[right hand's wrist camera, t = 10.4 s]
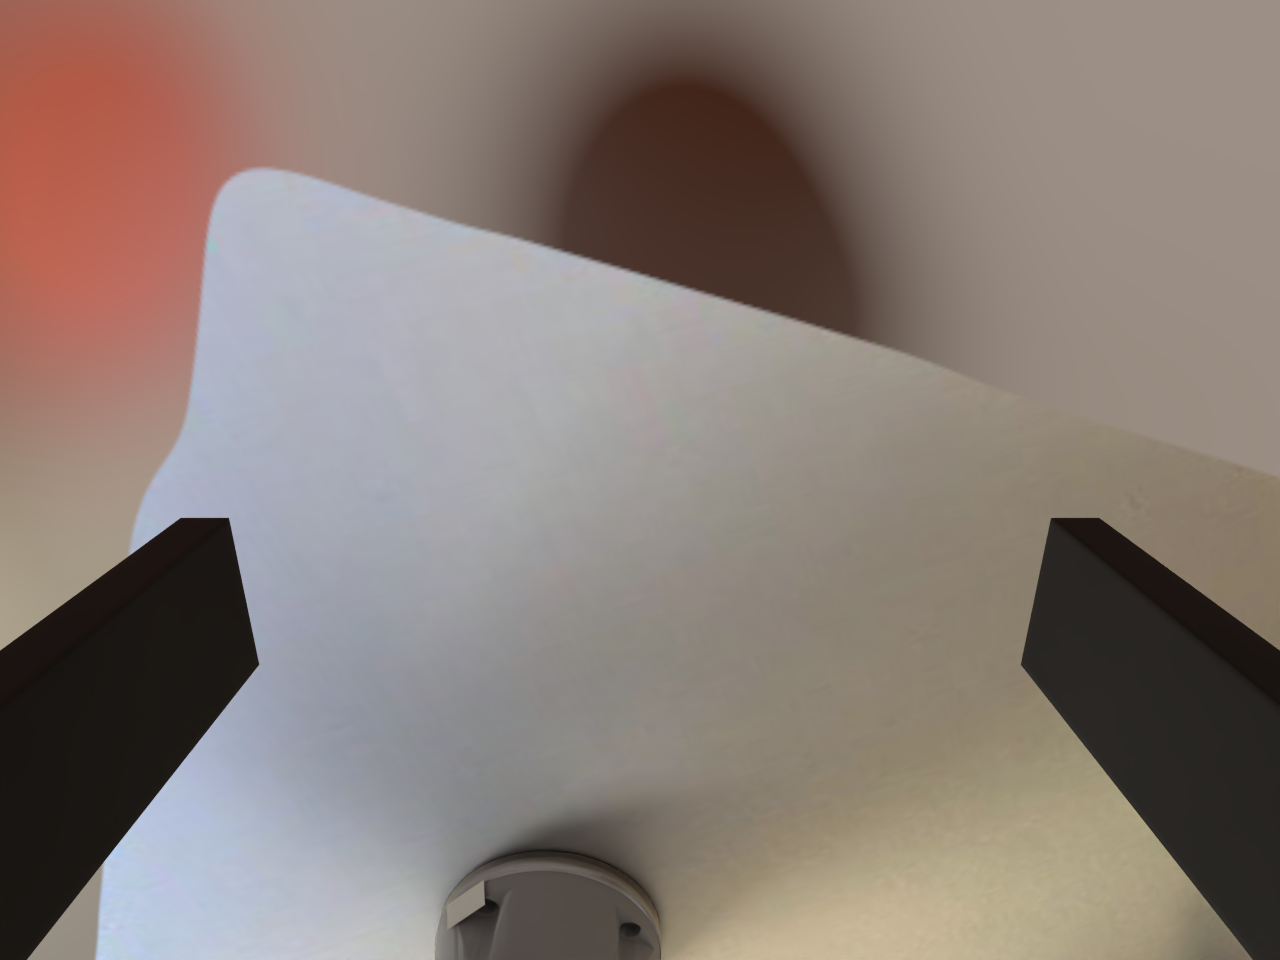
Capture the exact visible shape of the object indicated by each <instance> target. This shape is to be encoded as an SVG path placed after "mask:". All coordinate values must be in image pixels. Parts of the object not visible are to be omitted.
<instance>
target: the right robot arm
mask: <svg viewBox="0 0 1280 960" xmlns="http://www.w3.org/2000/svg"><path fill="white" fill-rule="evenodd" d="M258 665H259V662H258V657H257V652H256V647H255V642H254V637H253V633H252V628H251V623H250V618H249V613H248V608H247V604H246V599H245V594H244V589H243V584H242V579H241V574H240V570H239V565H238V560H237V555H236V550H235V545H234V541H233V536H232V531H231V526H230V521H229V518H180V519H179V520H177V521H176V522H175V523H173V524H172V525H171V526H169V527H168V528H167V529H165V530H164V531H162V532H161V533H160V534H158V535H157V536H156V537H154V538H153V539H152V540H150V541H149V542H148V543H146V544H145V545H143V546H142V547H141V548H139V549H138V550H137V551H135V552H134V553H133V554H131V555H130V556H128V557H127V558H126V559H124V560H123V561H122V562H120V563H119V564H118V565H116V566H115V567H114V568H112V569H111V570H109V571H108V572H107V573H105V574H104V575H103V576H101V577H100V578H99V579H97V580H96V581H94V582H93V583H92V584H90V585H89V586H88V587H86V588H85V589H84V590H82V591H81V592H80V593H78V594H77V595H75V596H74V597H73V598H71V599H70V600H69V601H67V602H66V603H65V604H63V605H62V606H60V607H59V608H58V609H56V610H55V611H54V612H52V613H51V614H49V615H48V616H47V617H45V618H44V619H43V620H41V621H40V622H39V623H37V624H36V625H35V626H33V627H32V628H30V629H29V630H28V631H26V632H25V633H24V634H22V635H21V636H20V637H18V638H17V639H15V640H14V641H13V642H11V643H10V644H9V645H7V646H6V647H5V648H3V649H2V650H0V960H27V959H28V957H29V956H30V955H31V954H32V952H33V951H34V950H35V949H36V947H37V946H38V945H39V943H40V942H41V941H42V940H43V938H44V937H45V936H46V935H47V933H48V932H49V931H50V930H51V928H52V927H53V926H54V924H55V923H56V922H57V921H58V919H59V918H60V917H61V915H62V914H63V913H64V912H65V910H66V909H67V908H68V907H69V905H70V904H71V903H72V902H73V900H74V899H75V898H76V896H77V895H78V894H79V893H80V891H81V890H82V889H83V888H84V886H85V885H86V884H87V882H88V881H89V880H90V879H91V877H92V876H93V875H94V874H95V872H96V871H97V870H98V869H99V867H100V866H101V865H102V864H103V862H104V861H105V860H106V858H107V857H108V856H109V855H110V853H111V852H112V851H113V850H114V848H115V847H116V846H117V844H118V843H119V842H120V841H121V839H122V838H123V837H124V836H125V834H126V833H127V832H128V830H129V829H130V828H131V827H132V825H133V824H134V823H135V822H136V820H137V819H138V818H139V817H140V815H141V814H142V813H143V811H144V810H145V809H146V808H147V806H148V805H149V804H150V803H151V801H152V800H153V799H154V797H155V796H156V795H157V794H158V792H159V791H160V790H161V789H162V787H163V786H164V785H165V783H166V782H167V781H168V780H169V778H170V777H171V776H172V775H173V773H174V772H175V771H176V770H177V768H178V767H179V766H180V764H181V763H182V762H183V761H184V759H185V758H186V757H187V756H188V754H189V753H190V752H191V750H192V749H193V748H194V747H195V745H196V744H197V743H198V742H199V740H200V739H201V738H202V736H203V735H204V734H205V733H206V731H207V730H208V729H209V728H210V726H211V725H212V724H213V723H214V721H215V720H216V719H217V717H218V716H219V715H220V714H221V712H222V711H223V710H224V709H225V707H226V706H227V705H228V703H229V702H230V701H231V700H232V698H233V697H234V696H235V695H236V693H237V692H238V691H239V690H240V688H241V687H242V686H243V684H244V683H245V682H246V681H247V679H248V678H249V677H250V676H251V674H252V673H253V672H254V670H255V669H256V668H257V667H258ZM1021 665H1022V667H1023V668H1024V669H1025V670H1026V672H1027V673H1028V674H1029V676H1030V677H1031V678H1032V679H1033V681H1034V682H1035V683H1036V684H1037V686H1038V687H1039V688H1040V690H1041V691H1042V692H1043V693H1044V695H1045V696H1046V697H1047V698H1048V700H1049V701H1050V702H1051V703H1052V705H1053V706H1054V707H1055V709H1056V710H1057V711H1058V712H1059V714H1060V715H1061V716H1062V717H1063V719H1064V720H1065V721H1066V723H1067V724H1068V725H1069V726H1070V728H1071V729H1072V730H1073V731H1074V733H1075V734H1076V735H1077V736H1078V738H1079V739H1080V740H1081V742H1082V743H1083V744H1084V745H1085V747H1086V748H1087V749H1088V750H1089V752H1090V753H1091V754H1092V756H1093V757H1094V758H1095V759H1096V761H1097V762H1098V763H1099V764H1100V766H1101V767H1102V768H1103V770H1104V771H1105V772H1106V773H1107V775H1108V776H1109V777H1110V778H1111V780H1112V781H1113V782H1114V783H1115V785H1116V786H1117V787H1118V789H1119V790H1120V791H1121V792H1122V794H1123V795H1124V796H1125V797H1126V799H1127V800H1128V801H1129V803H1130V804H1131V805H1132V806H1133V808H1134V809H1135V810H1136V811H1137V813H1138V814H1139V815H1140V817H1141V818H1142V819H1143V820H1144V822H1145V823H1146V824H1147V825H1148V827H1149V828H1150V829H1151V830H1152V832H1153V833H1154V834H1155V836H1156V837H1157V838H1158V839H1159V841H1160V842H1161V843H1162V844H1163V846H1164V847H1165V848H1166V850H1167V851H1168V852H1169V853H1170V855H1171V856H1172V857H1173V858H1174V860H1175V861H1176V862H1177V864H1178V865H1179V866H1180V867H1181V869H1182V870H1183V871H1184V872H1185V874H1186V875H1187V876H1188V877H1189V879H1190V880H1191V881H1192V883H1193V884H1194V885H1195V886H1196V888H1197V889H1198V890H1199V891H1200V893H1201V894H1202V895H1203V897H1204V898H1205V899H1206V900H1207V902H1208V903H1209V904H1210V905H1211V907H1212V908H1213V909H1214V910H1215V912H1216V913H1217V914H1218V916H1219V917H1220V918H1221V919H1222V921H1223V922H1224V923H1225V924H1226V926H1227V927H1228V928H1229V930H1230V931H1231V932H1232V933H1233V935H1234V936H1235V937H1236V938H1237V940H1238V941H1239V942H1240V944H1241V945H1242V946H1243V947H1244V949H1245V950H1246V951H1247V952H1248V954H1249V955H1250V956H1251V957H1252V959H1253V960H1280V650H1278V649H1277V648H1275V647H1274V646H1273V645H1271V644H1270V643H1269V642H1267V641H1266V640H1265V639H1263V638H1262V637H1260V636H1259V635H1258V634H1256V633H1255V632H1254V631H1252V630H1251V629H1250V628H1248V627H1247V626H1246V625H1244V624H1243V623H1241V622H1240V621H1239V620H1237V619H1236V618H1235V617H1233V616H1232V615H1231V614H1229V613H1228V612H1226V611H1225V610H1224V609H1222V608H1221V607H1220V606H1218V605H1217V604H1216V603H1214V602H1213V601H1211V600H1210V599H1209V598H1207V597H1206V596H1205V595H1203V594H1202V593H1201V592H1199V591H1198V590H1196V589H1195V588H1194V587H1192V586H1191V585H1190V584H1188V583H1187V582H1186V581H1184V580H1183V579H1182V578H1180V577H1179V576H1177V575H1176V574H1175V573H1173V572H1172V571H1171V570H1169V569H1168V568H1167V567H1165V566H1164V565H1162V564H1161V563H1160V562H1158V561H1157V560H1156V559H1154V558H1153V557H1152V556H1150V555H1149V554H1147V553H1146V552H1145V551H1143V550H1142V549H1141V548H1139V547H1138V546H1137V545H1135V544H1134V543H1132V542H1131V541H1130V540H1128V539H1127V538H1126V537H1124V536H1123V535H1122V534H1120V533H1119V532H1118V531H1116V530H1115V529H1113V528H1112V527H1111V526H1109V525H1108V524H1107V523H1105V522H1104V521H1103V520H1101V519H1100V518H1051V521H1050V526H1049V531H1048V536H1047V541H1046V545H1045V550H1044V555H1043V560H1042V565H1041V570H1040V574H1039V579H1038V584H1037V589H1036V594H1035V599H1034V604H1033V608H1032V613H1031V618H1030V623H1029V628H1028V633H1027V637H1026V642H1025V647H1024V652H1023V657H1022V662H1021ZM435 960H661V937H660V924H659V919H658V916H657V913H656V910H655V908H654V906H653V904H652V902H651V901H650V899H649V898H648V896H647V895H646V894H645V892H644V891H643V890H642V889H641V888H640V887H639V886H638V885H637V884H636V883H635V882H634V881H633V880H631V879H630V878H629V877H627V876H626V875H625V874H623V873H622V872H620V871H618V870H617V869H615V868H613V867H611V866H609V865H607V864H605V863H603V862H600V861H597V860H595V859H592V858H588V857H585V856H581V855H576V854H572V853H564V852H553V851H536V852H525V853H519V854H514V855H510V856H506V857H502V858H500V859H497V860H494V861H492V862H489V863H487V864H485V865H483V866H481V867H479V868H478V869H476V870H474V871H473V872H471V873H470V874H469V875H467V876H466V877H465V878H464V879H463V880H462V881H461V882H460V883H459V884H458V885H457V886H456V887H455V888H454V890H453V891H452V892H451V894H450V895H449V897H448V899H447V901H446V903H445V905H444V908H443V911H442V915H441V919H440V922H439V926H438V930H437V934H436V941H435Z"/></svg>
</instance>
